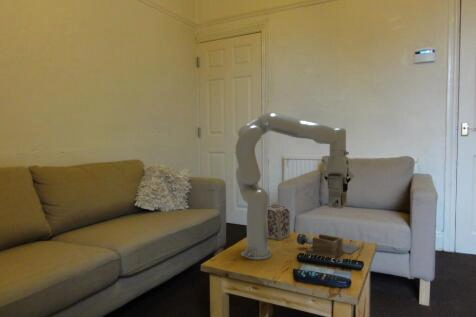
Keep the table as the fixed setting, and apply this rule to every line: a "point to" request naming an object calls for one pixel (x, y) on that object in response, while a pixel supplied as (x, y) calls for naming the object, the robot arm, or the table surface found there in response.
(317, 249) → the brown open box
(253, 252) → the robot arm
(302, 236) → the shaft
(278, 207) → the decorative jar
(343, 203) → the coffee box
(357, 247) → the spacer mat
